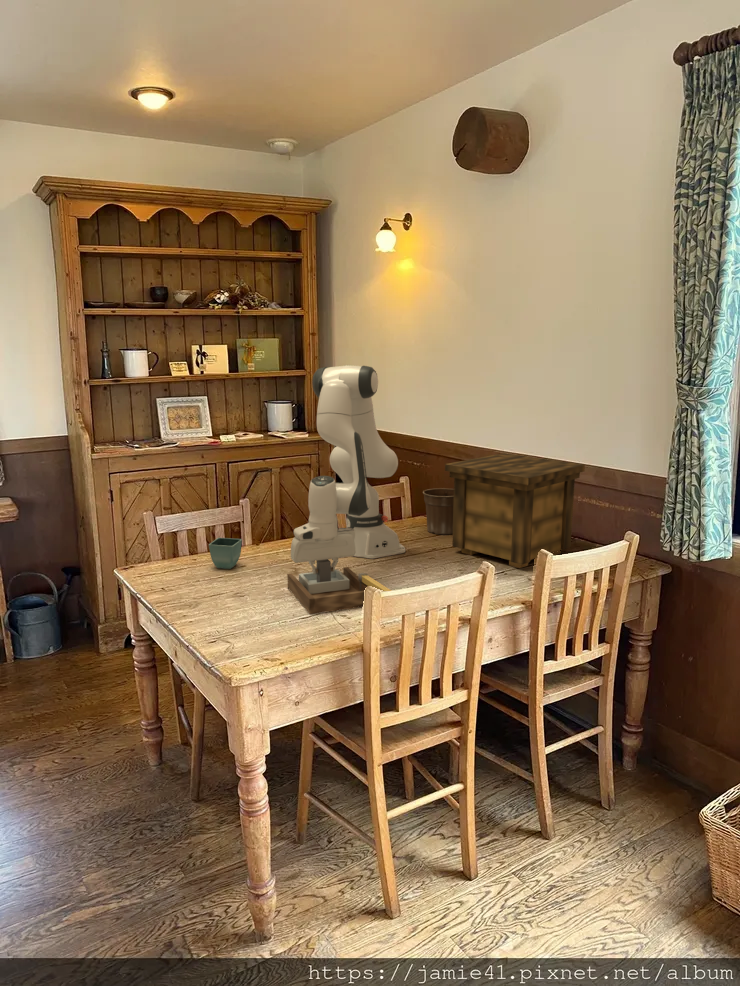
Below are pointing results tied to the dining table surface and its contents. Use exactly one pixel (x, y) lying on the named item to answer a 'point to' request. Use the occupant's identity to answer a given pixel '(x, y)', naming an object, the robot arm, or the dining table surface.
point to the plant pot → (439, 510)
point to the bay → (329, 595)
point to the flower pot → (225, 552)
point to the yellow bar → (371, 582)
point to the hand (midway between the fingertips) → (323, 572)
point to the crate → (513, 506)
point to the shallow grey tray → (324, 579)
